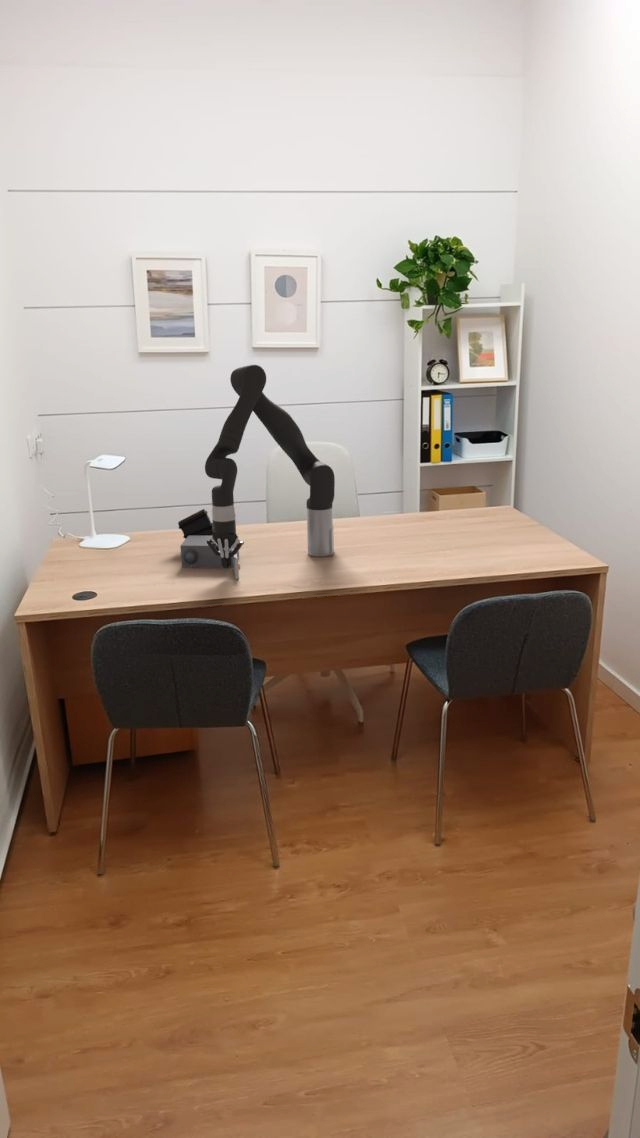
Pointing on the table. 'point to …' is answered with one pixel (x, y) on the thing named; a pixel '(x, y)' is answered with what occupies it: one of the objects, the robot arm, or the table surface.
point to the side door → (236, 565)
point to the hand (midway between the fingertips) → (226, 567)
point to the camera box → (200, 553)
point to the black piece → (196, 525)
